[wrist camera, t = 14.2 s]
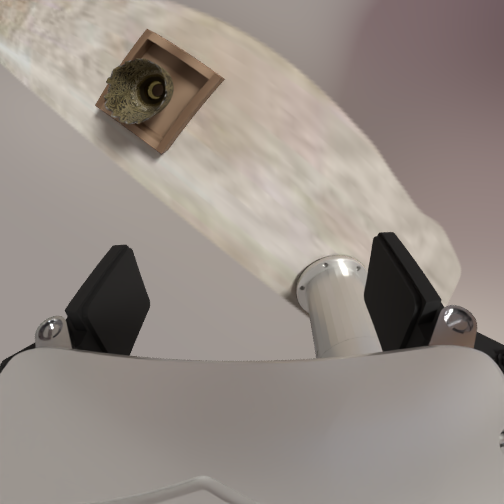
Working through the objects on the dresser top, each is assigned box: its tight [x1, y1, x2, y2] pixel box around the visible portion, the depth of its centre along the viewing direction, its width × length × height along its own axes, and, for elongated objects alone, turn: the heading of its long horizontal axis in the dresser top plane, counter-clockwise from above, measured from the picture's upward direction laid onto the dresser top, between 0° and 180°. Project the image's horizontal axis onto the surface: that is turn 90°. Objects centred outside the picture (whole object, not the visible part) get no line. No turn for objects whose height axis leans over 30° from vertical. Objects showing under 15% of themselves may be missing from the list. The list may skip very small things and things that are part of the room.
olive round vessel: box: [104, 58, 174, 124], centre depth 27 cm, size 8×7×8 cm
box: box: [95, 29, 224, 154], centre depth 30 cm, size 12×12×3 cm
